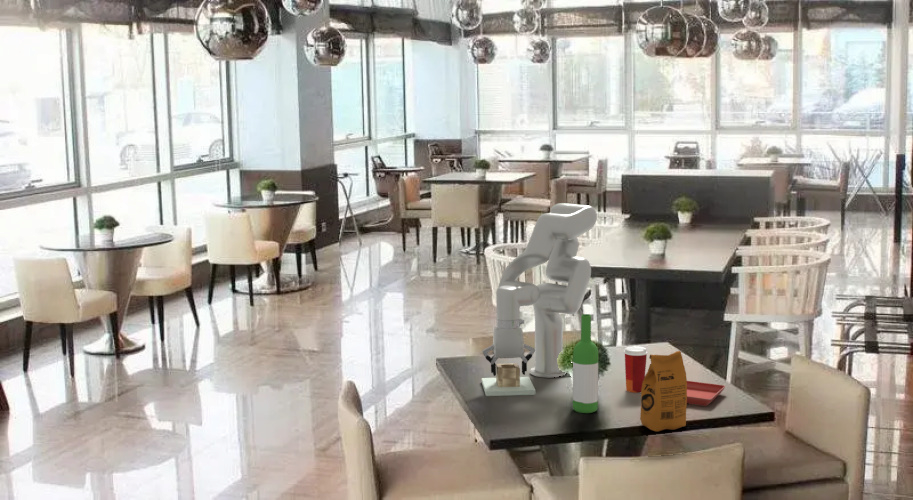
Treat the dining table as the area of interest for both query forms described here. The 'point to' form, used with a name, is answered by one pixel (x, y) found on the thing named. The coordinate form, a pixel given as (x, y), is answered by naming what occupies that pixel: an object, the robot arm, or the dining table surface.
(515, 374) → the maple collar
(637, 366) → the paper cup
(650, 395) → the coffee package
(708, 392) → the plant saucer
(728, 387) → the dining table surface
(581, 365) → the wine bottle
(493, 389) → the post board
